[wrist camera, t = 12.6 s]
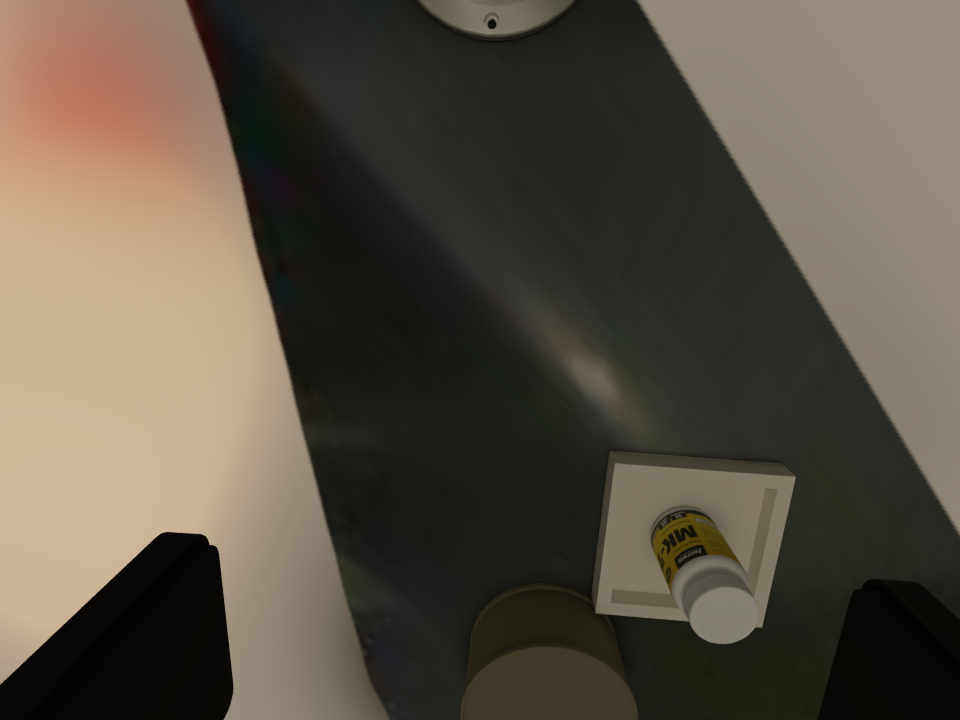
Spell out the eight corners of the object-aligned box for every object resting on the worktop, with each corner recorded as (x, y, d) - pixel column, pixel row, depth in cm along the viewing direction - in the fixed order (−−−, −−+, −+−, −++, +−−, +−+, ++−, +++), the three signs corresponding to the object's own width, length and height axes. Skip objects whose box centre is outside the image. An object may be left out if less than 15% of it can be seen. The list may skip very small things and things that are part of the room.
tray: (609, 450, 39) (615, 463, 37) (780, 463, 39) (795, 476, 37) (591, 594, 42) (595, 613, 40) (749, 607, 42) (761, 627, 40)
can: (622, 581, 42) (643, 649, 35) (615, 707, 45) (633, 792, 38) (466, 578, 43) (457, 645, 36) (469, 702, 46) (462, 785, 39)
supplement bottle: (676, 493, 39) (719, 566, 31) (729, 526, 40) (785, 607, 31) (635, 542, 40) (666, 624, 32) (687, 574, 41) (731, 663, 33)
